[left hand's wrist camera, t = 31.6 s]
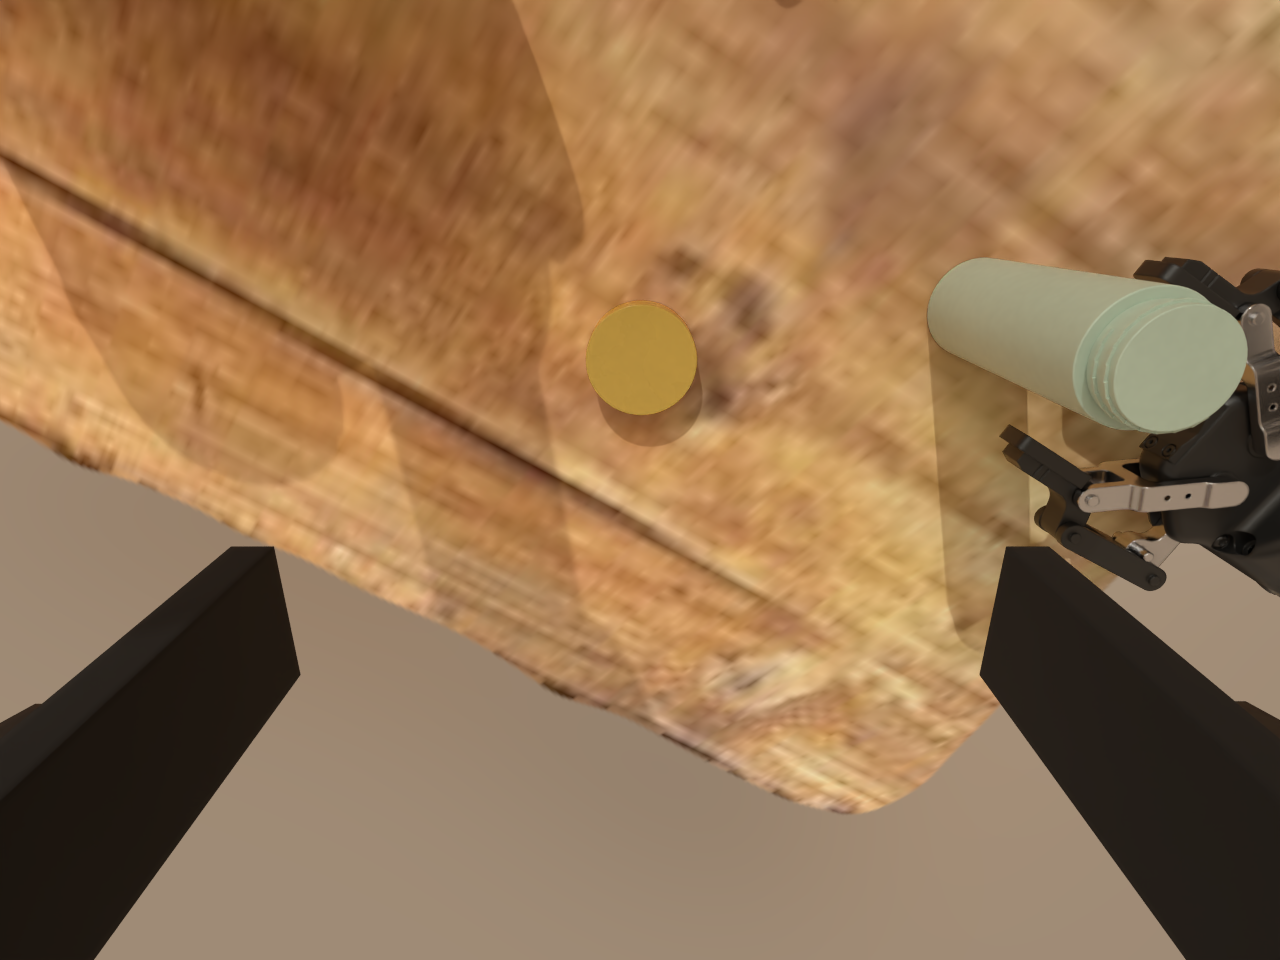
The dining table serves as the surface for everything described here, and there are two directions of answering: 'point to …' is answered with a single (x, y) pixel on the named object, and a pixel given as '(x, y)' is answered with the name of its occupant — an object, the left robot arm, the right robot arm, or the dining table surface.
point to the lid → (641, 358)
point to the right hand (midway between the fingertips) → (1078, 355)
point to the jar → (1093, 341)
